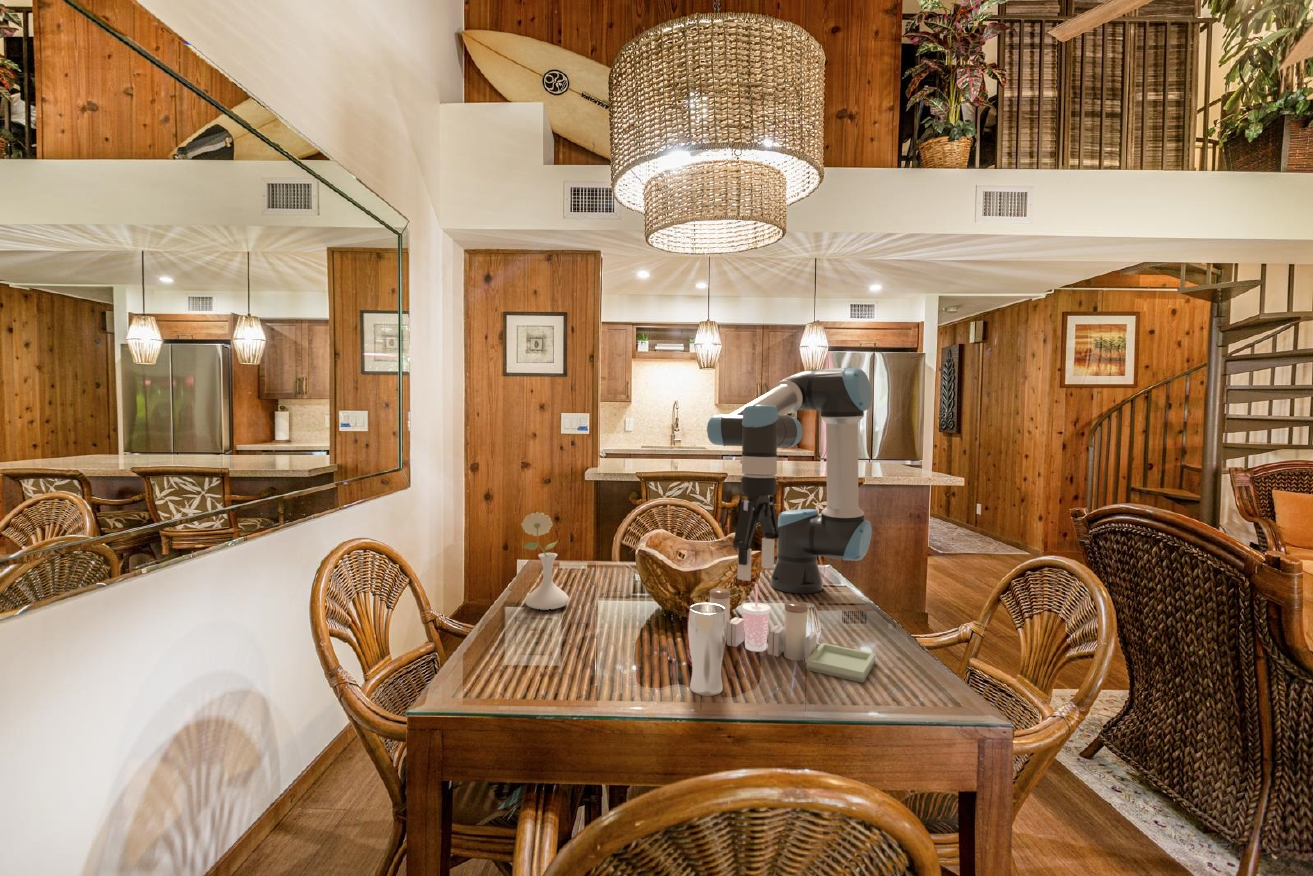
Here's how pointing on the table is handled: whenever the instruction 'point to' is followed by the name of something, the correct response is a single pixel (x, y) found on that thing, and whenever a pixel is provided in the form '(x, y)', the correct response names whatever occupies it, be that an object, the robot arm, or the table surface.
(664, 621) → the table surface
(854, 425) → the robot arm
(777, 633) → the holder
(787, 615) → the cylinder
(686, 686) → the table surface
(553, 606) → the flower in vase
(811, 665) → the tray
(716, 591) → the cylinder
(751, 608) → the beverage cup
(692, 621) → the beer glass
